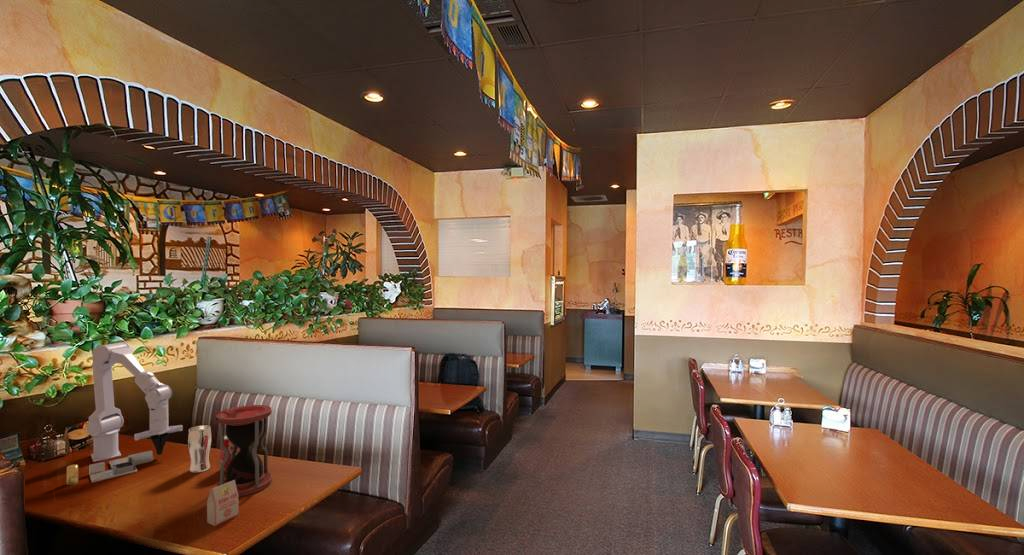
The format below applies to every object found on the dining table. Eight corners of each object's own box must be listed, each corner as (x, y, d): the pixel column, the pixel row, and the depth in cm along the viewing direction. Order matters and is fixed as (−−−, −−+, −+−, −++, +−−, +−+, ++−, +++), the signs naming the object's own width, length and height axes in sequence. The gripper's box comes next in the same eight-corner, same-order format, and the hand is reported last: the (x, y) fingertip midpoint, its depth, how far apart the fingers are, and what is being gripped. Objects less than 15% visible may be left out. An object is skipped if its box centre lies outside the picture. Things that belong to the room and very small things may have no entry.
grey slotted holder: (109, 463, 171) (109, 453, 171) (149, 454, 180) (149, 445, 180) (112, 470, 165) (112, 460, 165) (154, 460, 173) (154, 451, 173)
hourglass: (255, 471, 165) (254, 401, 164) (282, 482, 156) (281, 408, 156) (206, 489, 151) (205, 413, 150) (233, 502, 142) (232, 422, 142)
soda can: (247, 465, 170) (247, 433, 170) (234, 473, 163) (233, 440, 163) (229, 464, 170) (229, 432, 170) (215, 472, 163) (215, 439, 163)
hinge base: (89, 474, 162) (89, 465, 162) (133, 464, 170) (133, 455, 170) (91, 483, 155) (91, 472, 155) (137, 471, 164) (137, 462, 164)
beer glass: (202, 473, 163) (202, 431, 163) (183, 473, 163) (183, 431, 163) (215, 465, 170) (215, 424, 169) (197, 465, 170) (197, 424, 170)
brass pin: (66, 483, 155) (66, 466, 155) (78, 481, 157) (77, 463, 157) (67, 486, 153) (66, 468, 153) (78, 483, 155) (78, 466, 155)
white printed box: (207, 522, 131) (206, 487, 131) (231, 511, 137) (230, 478, 137) (214, 526, 129) (214, 490, 129) (238, 514, 135) (238, 481, 135)
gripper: (136, 425, 167) (136, 462, 167) (184, 416, 178) (184, 451, 178) (133, 421, 172) (133, 457, 172) (180, 412, 183) (180, 446, 183)
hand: (159, 453), depth 175 cm, fingers closed
